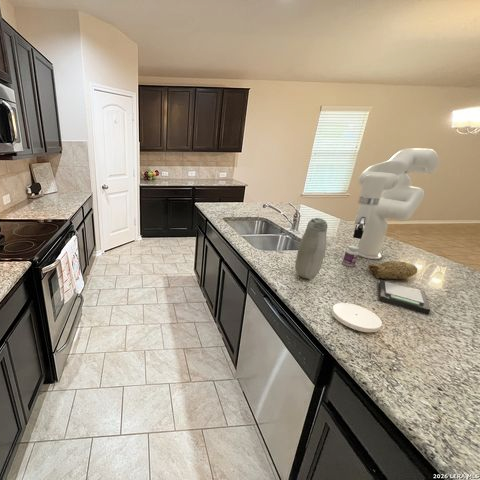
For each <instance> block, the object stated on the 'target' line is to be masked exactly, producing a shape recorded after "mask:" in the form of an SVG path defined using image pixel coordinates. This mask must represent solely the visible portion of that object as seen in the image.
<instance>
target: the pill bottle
mask: <svg viewBox="0 0 480 480" xmlns="http://www.w3.org/2000/svg"><path fill="white" fill-rule="evenodd" d="M358 249H359V248H358V246H356V245H349V246H348V249H346V250H345V253H344V256H343V258H342V264H343V265H344V266H347V267H355V266H356V263H357V259H358V257H359V256H358V254H359V253H358V252H357V251H358Z"/></svg>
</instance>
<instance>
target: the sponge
mask: <svg viewBox="0 0 480 480" xmlns="http://www.w3.org/2000/svg"><path fill="white" fill-rule="evenodd" d="M416 266H417V265H415V264H412V263H408V262H405V261H400V260H389V261H384V262H382V263H377V264H369V265H368V271H369V272H370V273H371V274H372V275H374V276H375V278H377V279H381V280H382V279H383V280H385V279H386V280H390V279H395V280H396V279H397V280H398V279H399V280H400V279H409V278H411V277H413V276H415V275H416V274H417V273H418V267H416Z"/></svg>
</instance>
